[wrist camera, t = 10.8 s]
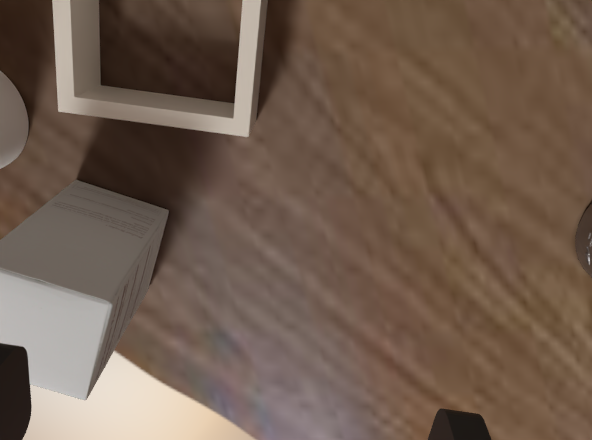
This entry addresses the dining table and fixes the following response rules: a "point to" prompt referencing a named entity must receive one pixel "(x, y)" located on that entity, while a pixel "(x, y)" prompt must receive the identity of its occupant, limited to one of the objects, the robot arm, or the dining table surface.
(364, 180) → the dining table surface
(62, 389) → the supplement box
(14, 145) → the cup
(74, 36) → the holder
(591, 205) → the robot arm
